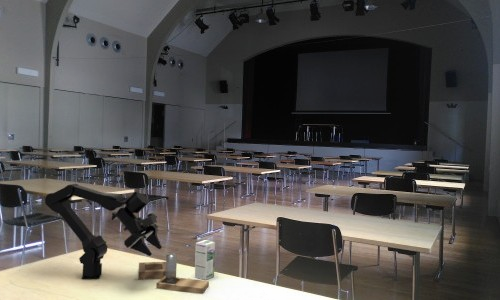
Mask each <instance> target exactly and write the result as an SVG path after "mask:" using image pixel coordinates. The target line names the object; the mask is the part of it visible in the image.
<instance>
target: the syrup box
mask: <svg viewBox="0 0 500 300" xmlns="http://www.w3.org/2000/svg"><path fill="white" fill-rule="evenodd" d="M215 249H216V242H215V241H214V240H208V239H203V240H201V241H197V242H195V252H194V254H195V257H194V259H195V260H194V262H195V263H194V278H197V279H198V280H204V281H208V279H211V278H214V277H215V256H216V255H215V253H216V251H215Z"/></svg>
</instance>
